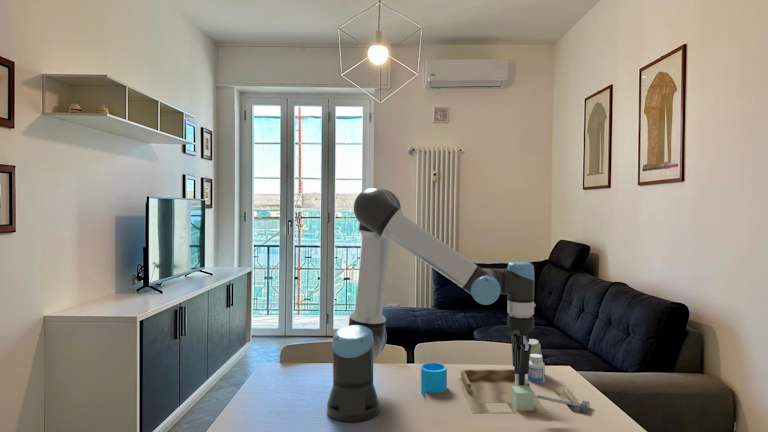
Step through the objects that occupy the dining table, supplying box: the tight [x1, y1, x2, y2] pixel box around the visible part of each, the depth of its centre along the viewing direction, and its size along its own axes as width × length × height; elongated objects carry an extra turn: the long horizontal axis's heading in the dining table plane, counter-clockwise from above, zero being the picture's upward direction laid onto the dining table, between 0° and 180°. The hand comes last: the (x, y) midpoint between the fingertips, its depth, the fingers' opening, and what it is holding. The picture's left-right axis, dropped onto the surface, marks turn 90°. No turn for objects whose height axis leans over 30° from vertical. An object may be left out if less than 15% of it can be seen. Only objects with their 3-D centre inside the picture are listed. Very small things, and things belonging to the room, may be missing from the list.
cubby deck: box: [457, 368, 549, 414], centre depth 144 cm, size 21×26×4 cm
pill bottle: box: [527, 354, 546, 384], centre depth 155 cm, size 6×5×10 cm
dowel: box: [562, 388, 581, 404], centre depth 143 cm, size 2×12×2 cm, turn 175°
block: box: [512, 386, 535, 411], centre depth 135 cm, size 5×5×5 cm
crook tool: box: [535, 394, 591, 414], centre depth 139 cm, size 5×14×2 cm, turn 56°
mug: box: [420, 362, 448, 397], centre depth 151 cm, size 12×8×8 cm
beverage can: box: [528, 338, 542, 361], centre depth 165 cm, size 6×7×12 cm
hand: (520, 394), depth 139 cm, fingers closed
